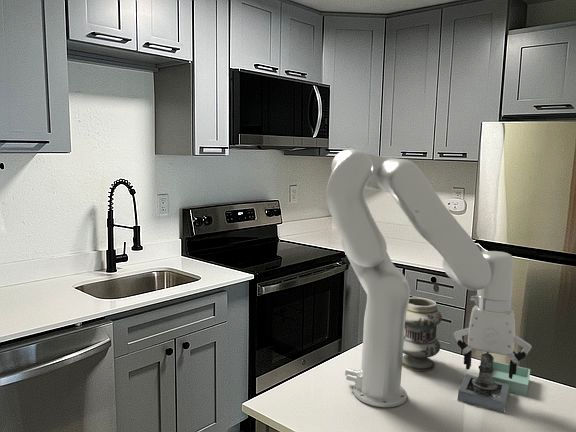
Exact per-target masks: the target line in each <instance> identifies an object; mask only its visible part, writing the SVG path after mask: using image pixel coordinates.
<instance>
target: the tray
mask: <svg viewBox="0 0 576 432" xmlns="http://www.w3.org/2000/svg"><path fill="white" fill-rule="evenodd" d="M509 367H510V363H509V364H508V363H504V362H499V361H496V360H495V361H494V360H493V369H494V371H493V373H492V380H493V381H497V382H502V383H506V384H510V386H509V393H511V394H515V395H519V396H522V397H528V392H529V384H530V375H531V368H527V367H522V366H518V365H517V369H516V375H514V374H513V377H512V379H510V378H509Z"/></svg>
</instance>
